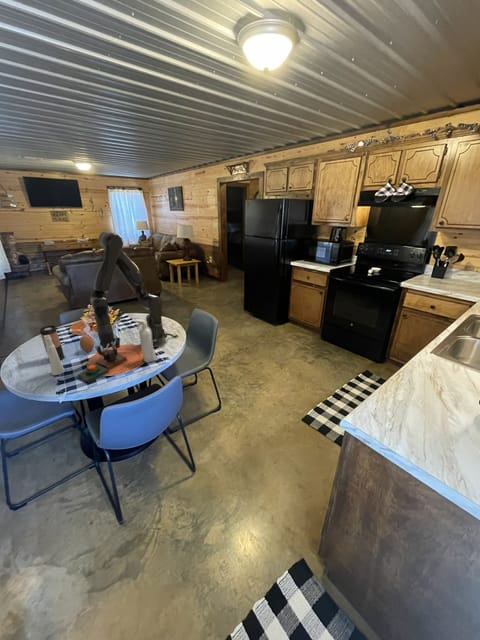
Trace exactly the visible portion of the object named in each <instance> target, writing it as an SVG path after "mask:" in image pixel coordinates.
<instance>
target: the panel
mask: <svg viewBox="0 0 480 640" xmlns="http://www.w3.org/2000/svg"><path fill="white" fill-rule="evenodd" d="M127 361H128V359H127V356H125V355H122V354H119V353H118V355H117V356H116V360H114V361H111V362H108V361H106V360H104V358H101V359H99V360H97V361H96V365H100V366H102V367H104V368H106V369H108V372H109V371H110V370H112V369H114V368H116V367H118V366H120V365H121V364H123V363H126V362H127Z"/></svg>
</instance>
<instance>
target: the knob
mask: <svg viewBox="0 0 480 640" xmlns="http://www.w3.org/2000/svg"><path fill="white" fill-rule="evenodd" d="M107 356H108V362H111V361H114V360H116V355H115V350H113V349H108V351H107Z"/></svg>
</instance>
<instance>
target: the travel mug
mask: <svg viewBox="0 0 480 640" xmlns="http://www.w3.org/2000/svg"><path fill="white" fill-rule="evenodd" d="M39 334H40V337H41V339H42V342H43V346H44V349H45V352H46V354H47V355H48V353H47V350H46V343H45V340H44V338H45V337H44V336H45V335H50V337H51V340H52V343H53V345H54V346H55V348H56V351H57V353H58V356H59V359H60V361H62V360H64V359H65V355H64V350H63V347H62V346H63V345H62V342H61V339H60V337H59V333H58V329H57V326H56V325H45V326H43V327H40V329H39Z"/></svg>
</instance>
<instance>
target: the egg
mask: <svg viewBox="0 0 480 640" xmlns="http://www.w3.org/2000/svg"><path fill="white" fill-rule="evenodd" d="M79 347H80V349H81V350H82V351H83V352H86V353H89V352H91V351H93V349H95V341H94V339H93V337H91V336H90V335H88V334H84V335H82V336H81V337H80V339H79Z"/></svg>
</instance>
